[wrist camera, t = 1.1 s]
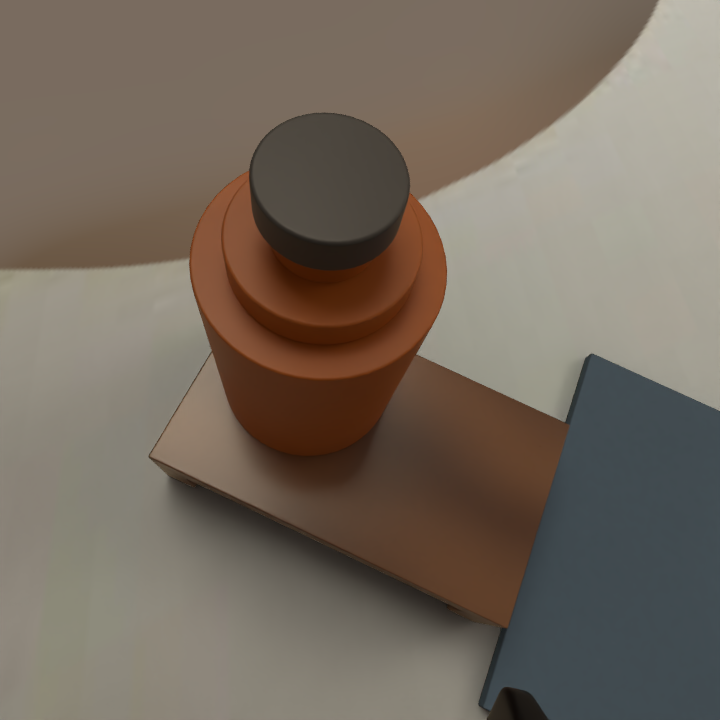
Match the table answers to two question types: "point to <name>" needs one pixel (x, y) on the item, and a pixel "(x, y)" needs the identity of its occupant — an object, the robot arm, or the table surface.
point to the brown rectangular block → (394, 483)
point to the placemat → (623, 562)
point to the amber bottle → (316, 282)
